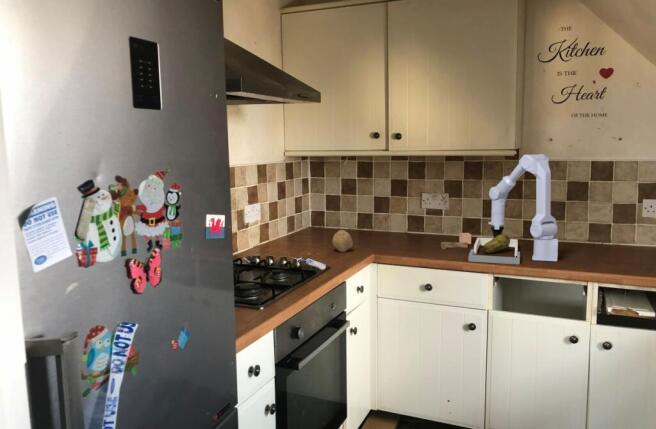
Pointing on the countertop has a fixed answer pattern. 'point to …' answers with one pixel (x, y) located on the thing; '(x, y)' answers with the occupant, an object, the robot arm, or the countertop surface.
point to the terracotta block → (465, 237)
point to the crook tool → (453, 244)
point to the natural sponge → (342, 241)
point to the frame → (494, 258)
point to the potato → (497, 244)
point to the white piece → (484, 240)
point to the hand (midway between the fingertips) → (496, 242)
